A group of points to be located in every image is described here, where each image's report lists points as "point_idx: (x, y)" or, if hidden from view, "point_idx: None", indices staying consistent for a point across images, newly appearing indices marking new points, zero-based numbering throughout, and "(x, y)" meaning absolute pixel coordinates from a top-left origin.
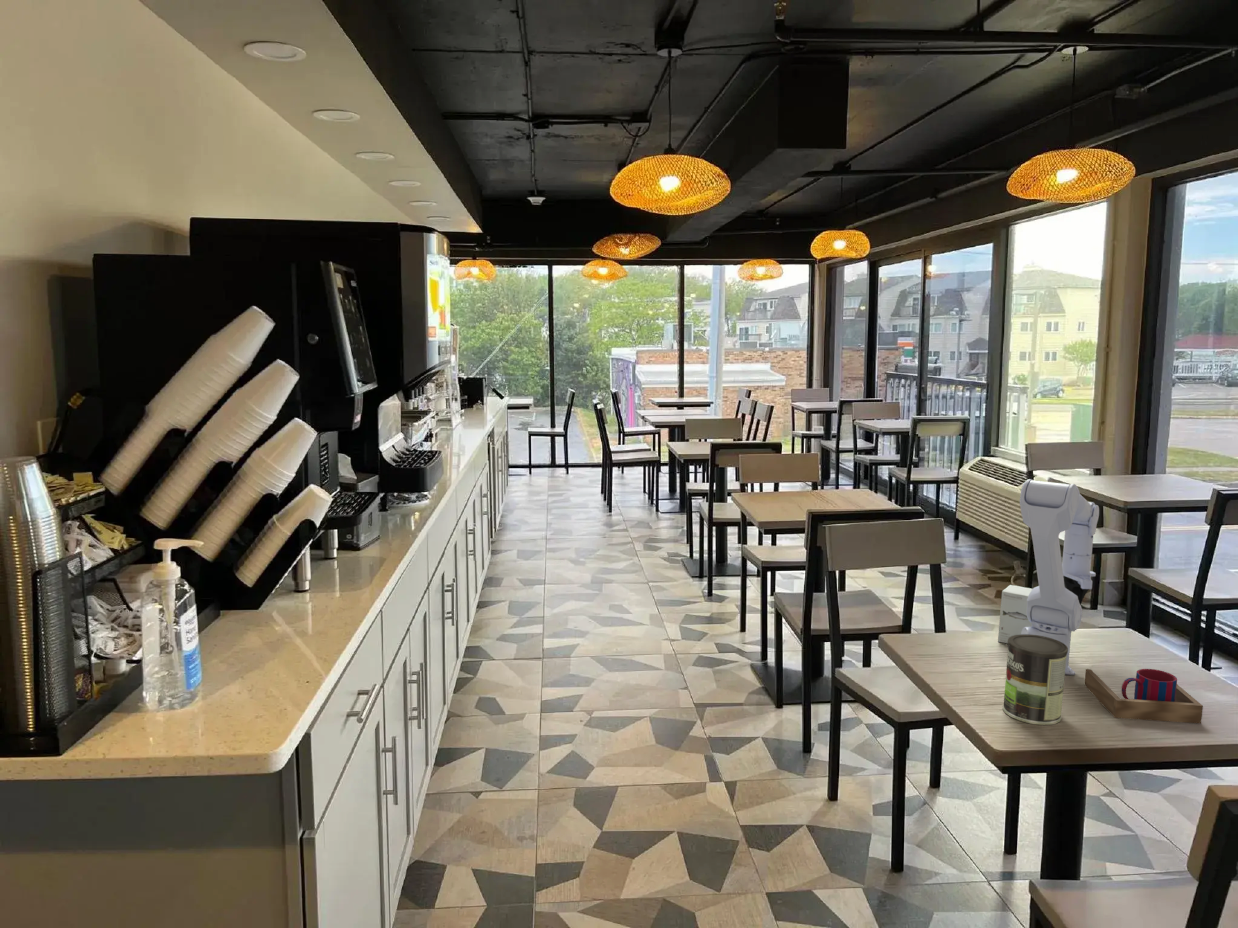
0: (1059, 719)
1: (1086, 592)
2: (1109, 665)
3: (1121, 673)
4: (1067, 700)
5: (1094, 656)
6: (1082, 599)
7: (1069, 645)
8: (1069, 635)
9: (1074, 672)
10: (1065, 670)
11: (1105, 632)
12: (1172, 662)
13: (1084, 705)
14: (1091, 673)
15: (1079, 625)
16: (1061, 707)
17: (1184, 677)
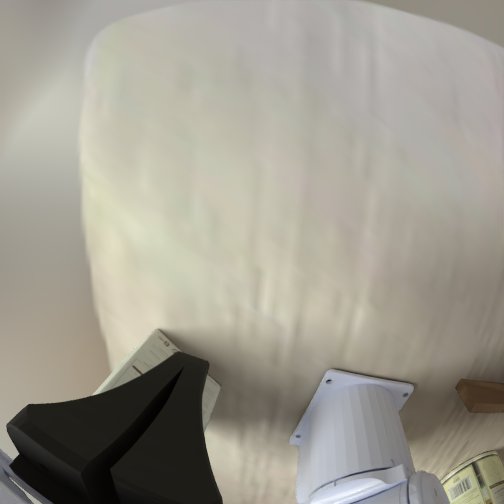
0: (498, 455)
1: (209, 461)
2: (384, 248)
3: (441, 257)
4: (474, 433)
5: (303, 243)
6: (201, 413)
7: (405, 441)
8: (414, 469)
9: (411, 387)
10: (395, 400)
11: (104, 76)
12: (373, 28)
13: (497, 417)
14: (487, 410)
15: (430, 474)
16: (502, 464)
17: (479, 95)
